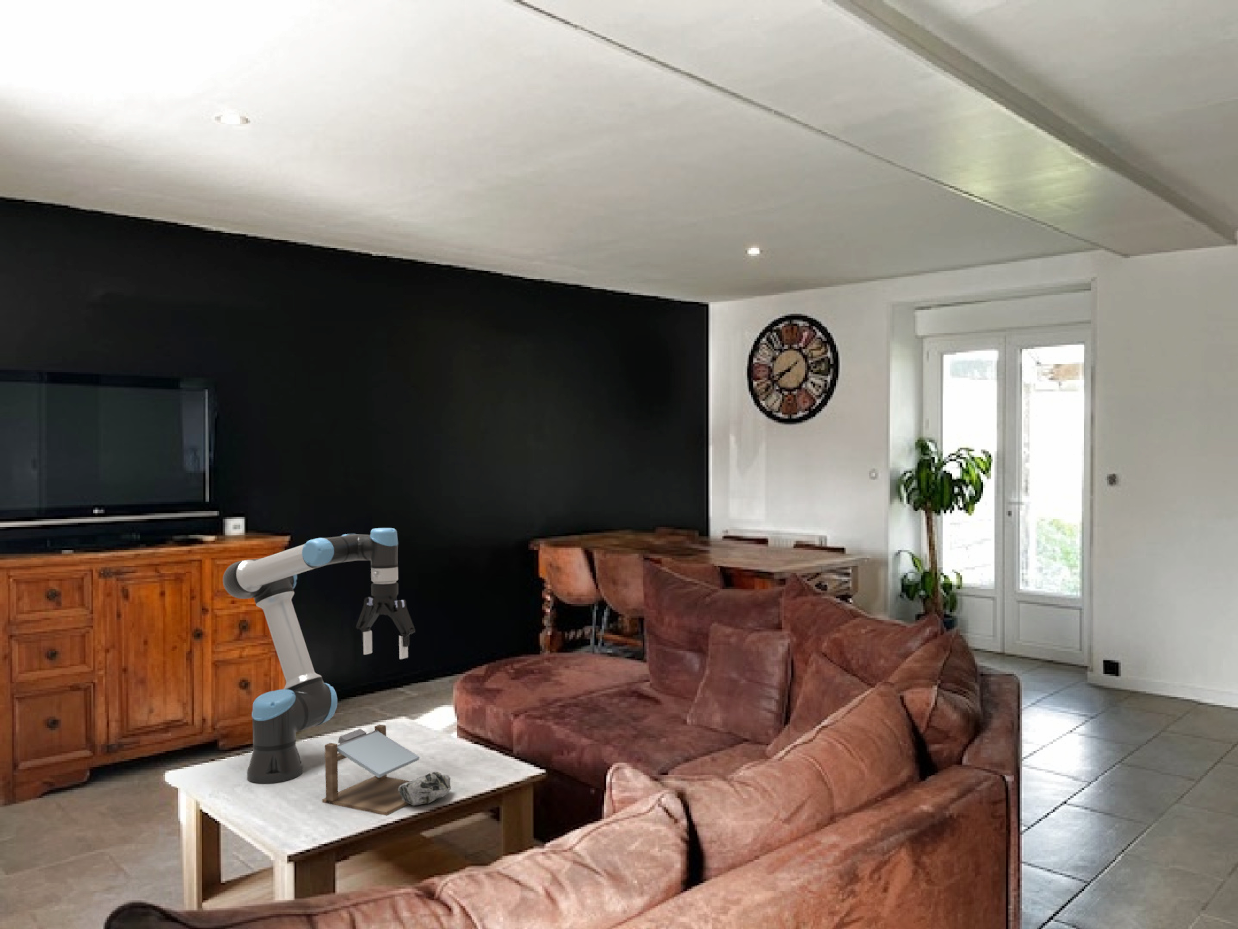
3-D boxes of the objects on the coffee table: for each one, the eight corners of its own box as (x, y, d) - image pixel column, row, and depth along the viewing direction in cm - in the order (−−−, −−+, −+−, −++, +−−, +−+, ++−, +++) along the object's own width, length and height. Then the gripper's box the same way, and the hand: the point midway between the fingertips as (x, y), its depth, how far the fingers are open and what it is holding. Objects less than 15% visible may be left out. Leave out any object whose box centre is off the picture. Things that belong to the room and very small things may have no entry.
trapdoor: (326, 746, 250) (327, 740, 250) (369, 730, 265) (371, 724, 264) (377, 779, 242) (379, 773, 242) (419, 761, 257) (420, 755, 256)
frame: (321, 802, 248) (320, 744, 248) (375, 777, 267) (374, 724, 267) (386, 815, 238) (385, 755, 238) (438, 789, 256) (437, 733, 256)
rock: (392, 788, 243) (401, 815, 241) (425, 775, 240) (434, 802, 239) (420, 775, 257) (428, 801, 255) (451, 763, 254) (460, 789, 253)
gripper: (343, 581, 271) (344, 654, 271) (409, 586, 259) (410, 662, 259) (361, 578, 277) (362, 649, 277) (427, 582, 265) (428, 657, 265)
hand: (385, 656), depth 268 cm, fingers open, 13 cm apart
